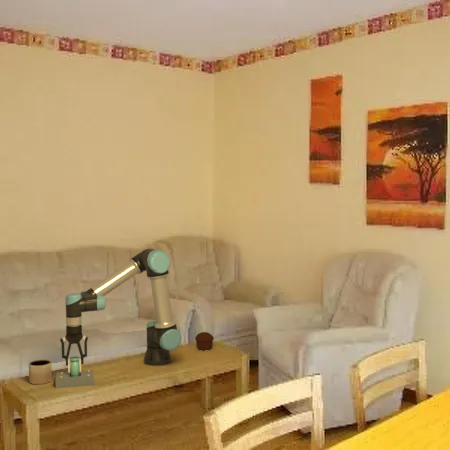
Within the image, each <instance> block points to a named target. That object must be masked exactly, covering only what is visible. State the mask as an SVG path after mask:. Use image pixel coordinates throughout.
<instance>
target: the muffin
mask: <svg viewBox="0 0 450 450" xmlns="http://www.w3.org/2000/svg"><path fill="white" fill-rule="evenodd" d="M194 339H195V342H196V349H198V350H197V351H200V350H202V351H201V352H206V351H205V350H209V351H211V350H210V349H212V348H213V342H214V340H215V338H214V336H213V334H211V332H208V331H202V332H199V333H198V334H196V336H195V338H194Z"/></svg>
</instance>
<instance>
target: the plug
mask: <svg viewBox="0 0 450 450" xmlns="http://www.w3.org/2000/svg"><path fill="white" fill-rule="evenodd" d="M80 357H81V356H70V357H69V358H70V372H71V377H73V376H79V371H80V361H79V358H80Z"/></svg>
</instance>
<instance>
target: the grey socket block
mask: <svg viewBox="0 0 450 450" xmlns="http://www.w3.org/2000/svg"><path fill="white" fill-rule="evenodd" d="M94 372H95V371H94V369H89V370H88V369H87V370H86V369H85V370H81V372H80V370H79V376H73V377H71V371H70V372H69V373H68V371H61V372H60V371H59V372H56V376H55V388H56V389H57V388H58V389H60V388H71V387H72V388H73V387H85V386H94V385H95V382H94V381H95V378H94V375H95V373H94Z"/></svg>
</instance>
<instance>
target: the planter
mask: <svg viewBox="0 0 450 450" xmlns="http://www.w3.org/2000/svg"><path fill="white" fill-rule="evenodd" d="M52 373H53V372H52V360H50V359H49V360H48V359H37V360H32V361H30V362H29V363H28V382H29V383H30V384H31V385H46V384H48V383H50V382H51V381H52V380H53V379H52V378H53V377H52V376H53V375H52Z"/></svg>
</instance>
